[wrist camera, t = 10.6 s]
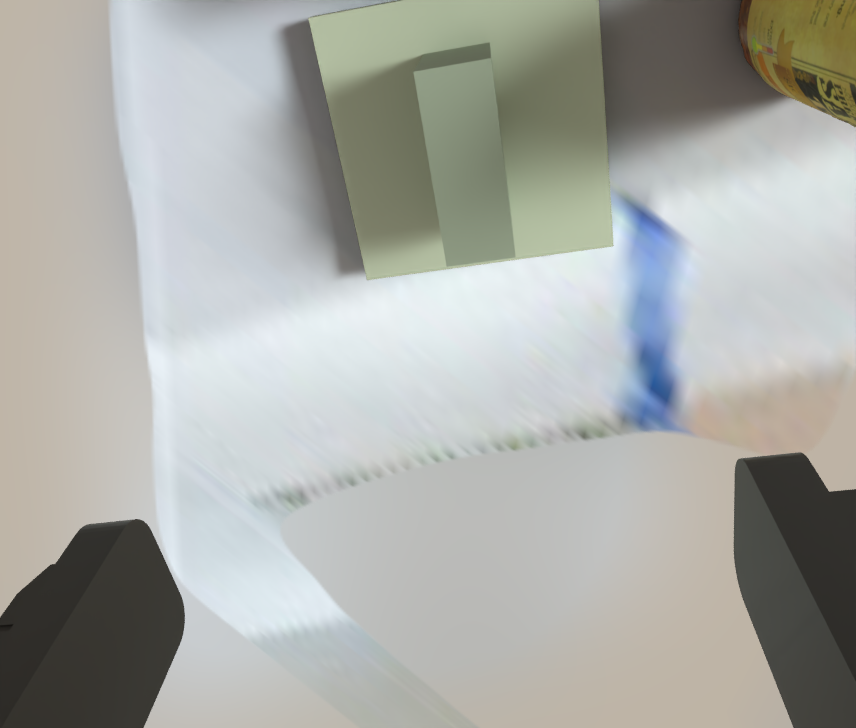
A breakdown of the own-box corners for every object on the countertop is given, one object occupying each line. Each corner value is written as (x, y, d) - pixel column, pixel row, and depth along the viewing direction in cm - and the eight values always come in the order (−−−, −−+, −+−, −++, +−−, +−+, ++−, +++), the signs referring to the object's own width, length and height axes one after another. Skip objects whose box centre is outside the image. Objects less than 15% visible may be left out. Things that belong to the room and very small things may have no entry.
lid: (318, 14, 31) (277, 29, 25) (589, -37, 30) (617, -34, 23) (372, 264, 36) (350, 328, 30) (606, 231, 35) (633, 291, 28)
